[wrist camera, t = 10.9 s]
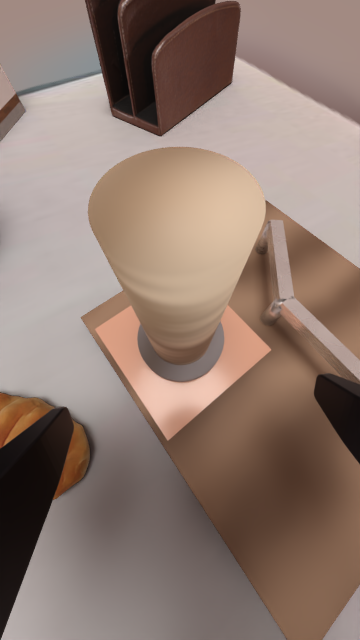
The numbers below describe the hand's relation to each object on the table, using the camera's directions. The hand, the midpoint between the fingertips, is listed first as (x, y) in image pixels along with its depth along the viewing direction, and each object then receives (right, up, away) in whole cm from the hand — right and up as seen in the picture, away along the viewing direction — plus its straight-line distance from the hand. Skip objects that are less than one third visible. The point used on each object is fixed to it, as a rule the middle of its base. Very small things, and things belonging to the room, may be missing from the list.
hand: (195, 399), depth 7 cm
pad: (0, +1, +9) cm, 9 cm away
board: (+7, +1, +10) cm, 12 cm away
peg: (0, +1, +9) cm, 9 cm away
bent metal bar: (+9, +4, +10) cm, 14 cm away
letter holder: (-1, +39, +27) cm, 47 cm away
